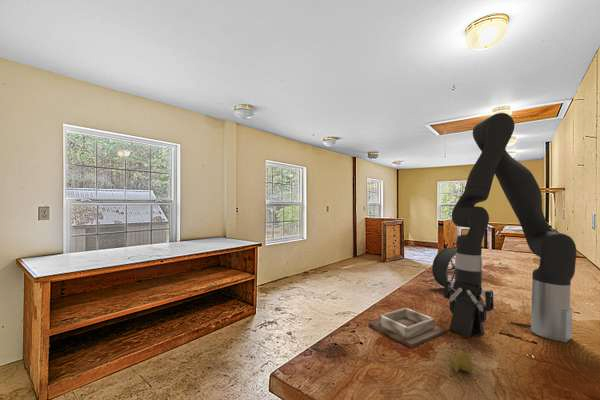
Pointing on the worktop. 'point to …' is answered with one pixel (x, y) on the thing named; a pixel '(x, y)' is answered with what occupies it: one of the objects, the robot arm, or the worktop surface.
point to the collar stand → (407, 326)
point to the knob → (461, 362)
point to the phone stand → (466, 318)
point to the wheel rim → (443, 266)
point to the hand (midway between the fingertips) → (466, 317)
